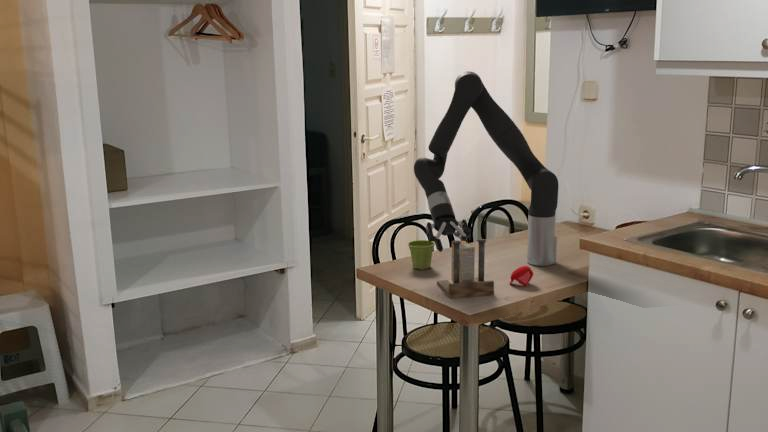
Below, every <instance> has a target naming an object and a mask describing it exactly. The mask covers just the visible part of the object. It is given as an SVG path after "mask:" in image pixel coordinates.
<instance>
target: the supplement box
mask: <svg viewBox="0 0 768 432" xmlns="http://www.w3.org/2000/svg"><path fill="white" fill-rule="evenodd" d="M460 241H461V240H460ZM467 242H468V241H467ZM467 242H466V241H461V244H460V252H459V283H467V282H474V278H475V255H476V254H475V253H476V251H475V249H476V248H475V246H474V245H472V244H471V243H469V242H468V243H467ZM453 273H454V244H452V243H451V276H450V277H451V279H452V281H453ZM451 279H450V280H451Z"/></svg>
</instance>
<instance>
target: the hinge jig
mask: <svg viewBox="0 0 768 432" xmlns="http://www.w3.org/2000/svg"><path fill="white" fill-rule="evenodd" d="M486 242H487V239H485V238H478V239H477V243H478V261H477V263H478V267H477V269H478V270H477V271H478V272H477V273H478V276H477V277H474V282H467V283H459V252H460V244H461V240H452V241H451V245H452V244H454V273H453V281H452V279H441V280H439V279H438V280H436V285H437V286H438V288H440V289H441V290H442V291H443V292H444V294H445V295H446V296H447V297H448V298H449V299H462V298H461V297H463V298H473V296H475V297H486V296H485V295H488V296H495V290H494V289H495V281H494V280H485V243H486Z"/></svg>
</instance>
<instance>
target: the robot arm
mask: <svg viewBox="0 0 768 432" xmlns="http://www.w3.org/2000/svg"><path fill="white" fill-rule="evenodd" d="M452 95H453V96H452V99H451V101H450V104H449V106H448V108H447V111H446V113H444V114H445V115H443V117H442V119H441V121H440V123H439V124H438V126H437V128H436V129H435V132H434V133H433V136H432V137H431V140H430V142H429V143H428V148H427V149H428V151H430V152H431V154H433V159H432V158H427V157H419V158H417V159H416V160H415V162H414V164H413V173H414V176H415V178H416V179H417V181H418V183H419V185H421V188H422V189H423V190H424V193H425V196H426V200H427V205H428V210H429V212H430V216H431V219H432V222H433V223H431V222H427V223H426V225H425V232H426V235H427V236H426V237H427V241H430V242H431V241H432V242H434V243H435V245H434V246H435V247H436V250H437V251H438V253H441V252H443V251H444V247H443V244H442V241H441V238H440V237H441V236H455V237H456V238H458V239H460V241H466V242H467V243H469V242H468V239H469V238H470V235H471V233H472V232H471V230H470V227H469V225H468V223H467V220H466V219H462V220H461V221H458V220H457V219H456V215H455V212H454V211H455V210H454V209H453V205H452V202H451V200H450V197H449V196H448V192H447V189H446V187H445V184H444V182H443V181H442V180H441V177H443V174H444V171H445V169H446V162H447V158H448V153H449V152H450V149H451V147H452V145H453V143H454V141H455V139H456V136H457V135H458V132H459V130H460V128H461V126H462V123H463V121H464V120H465V117H466V116H467V113H469V111H470V109H471V108H472V109H473V111H474V112H475V114H476V115H477V116H478V118H479V120H480V121H481V124H482V125H483V127H484V129H485V131H486V133H487V134H488V136H489V137H490V138H491V140H492V141H493V143H494V144H495V146H497V147H498V149H499V150H500V151H501V152H502V153H503V155H505V157H506V158H507V159H508V160H509V161H510V163H513V165H514V166H515V167H516V168H517V170H518V172H520V175H521V176H522V177H523V179H524V181H525V182H526V184H527V186H528V188H529V190H530V205H529V207H528V214H527V215H528V217H527V218H528V221H527V256H526V259H527V260H526V263H527V264H529V265H531V266H537V267H538V266H540V267H541V266H542V267H545V266H552V265H555V264H557V253H558V252H557V247H558V246H557V245H558V238H557V236H556V211H557V209H558V202H559V201H558V200H559V199H558V198H559V179H558V177H557V176H556V174H555V173H554V172H553V171H551V170H549V169H548V168H546V166H545V165H544V164H543V163H542V162H541V161H540V160H539V159H538V158H537V157H536V155H535V154H534V153H533V151H532V149H531V148H530V146H529V143H528V141H527V140H526V138H525V136H524V135H523V133H522V131H521V130H520V128H519V127H518V126H517V125H516V123H515V122H514V121H513V119H512V118H511V117H510V116H509V115H508V114H507V112H506V111H504V110H503V108H502V107H501V106H500V105H499V104H498V103H497V102H496V101H495V100H494V99H493V97H492V96H491V94H490V92H489V91H488V90H487V88H486V86H485V84H484V83H483V81H482V79H481V77H480V76H479V74H477V73H476V72H474V71H463V72H461V73H460V74H458V76H457V77H456V79H455V80H454V92H453V94H452ZM433 229H434V230H435V231H436V232H437V234H436V235H434V232H433Z"/></svg>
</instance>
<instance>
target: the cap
mask: <svg viewBox="0 0 768 432" xmlns="http://www.w3.org/2000/svg"><path fill="white" fill-rule="evenodd" d="M533 276H534V272H533V270H532V268H531V267H530V266H529V265H528V266H527V265H523V266H520V267H517V268H516V269H514V270H513V272H512V273H511V275H510V282H509V285H512V284H513V282H514V281H516V282H518V283H519V284H520V285H522V286H523V287H528V284H529V283H530V282H531V280H532V278H533Z"/></svg>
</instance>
